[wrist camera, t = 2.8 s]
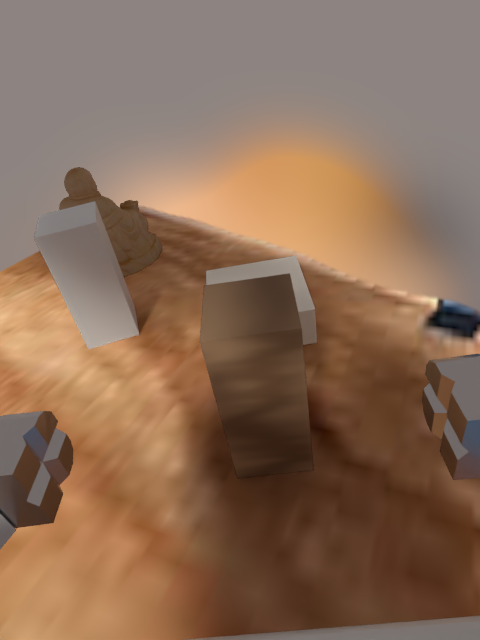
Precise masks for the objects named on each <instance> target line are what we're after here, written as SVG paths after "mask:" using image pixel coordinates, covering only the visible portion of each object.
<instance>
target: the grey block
mask: <svg viewBox="0 0 480 640" xmlns="http://www.w3.org/2000/svg"><path fill="white" fill-rule="evenodd" d="M34 240H35V242H36V244H37V246H38V248H39V250H40V252H41V254H42V256H43V258H44V260H45V262H46V264H47V266H48V268H49V270H50V272H51V274H52V276H53V278H54V280H55V282H56V284H57V286H58V288H59V290H60V293H61V295H62V297H63V299H64V301H65V303H66V305H67V307H68V309H69V311H70V313H71V315H72V317H73V319H74V321H75V323H76V325H77V327H78V329H79V331H80V333H81V335H82V337H83V339H84V341H85V343H86V345H87V347H88V349H92V348H96V347H99V346H102V345H106V344H109V343H112V342H116V341H119V340H123V339H126V338H129V337H133V336H136V335H139V329H138V323H137V317H136V310H135V306H134V303H133V301H132V298H131V295H130V293H129V290H128V287H127V285H126V282H125V279H124V277H123V274H122V271H121V269H120V266H119V263H118V261H117V258H116V255H115V253H114V250H113V247H112V245H111V242H110V239H109V237H108V234H107V231H106V229H105V226H104V223H103V221H102V218H101V215H100V213H99V210H98V207H97V205H96V202H95V201H94V202H90V203H86V204H82V205H78V206H74V207H70V208H66V209H62V210H58V211H55V212H51V213H47V214H43V215H40V216H39V218H38V223H37V227H36V231H35V235H34Z"/></svg>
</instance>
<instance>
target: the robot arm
mask: <svg viewBox="0 0 480 640" xmlns="http://www.w3.org/2000/svg"><path fill="white" fill-rule="evenodd" d="M425 374H426V376H427V378H428V380H429V384H428V385H427V386H426V387H425V388H424V389H423V398H422V402H423V410H424V415H425V418H426V421H427V424H428V426H429V428H430V431H431V433H432V434H434V435H435V436H437V437H438V438H440V439H441V440H442V442H441V447H440V453H441V455H442V457H443V459H444V461H445V463H446V466H447V468H448V470H449V472H450V474H451V476H452V478H453V480H459V479H472V478H480V354H472V355H465V356H458V357H451V358H444V359H437V360H430V361H429V362H428V364H427V367H426V373H425ZM57 423H58V420H57V419H56V418H55V416H54V415H53V413H52V412H51V411H40V412H31V413H21V414H12V415H3V416H0V549H1V548H2V547H3V546H4V544H5V543H6V542H7V541H8V539H9V538H10V537H11V536H12V535H13V533H14V532H15V531H16V529H15V528H19V527H27V526H34V525H41V524H49V523H54V520H55V517H56V514H57V511H58V508H59V505H60V502H61V499H62V496H63V492H62V490H61V487H60V484H61V483H62V482H63V481H64V480H65V479H66V478H67V477H68V476H69V475H70V471H71V468H72V465H73V447H72V444H71V440H70V439H69V437H68V436H67V434H66V433H64V432H62V431H60V430H58V429H56V426H57ZM185 640H480V616H468V617H456V618H444V619H431V620H419V621H407V622H394V623H382V624H370V625H357V626H345V627H333V628H321V629H308V630H296V631H284V632H271V633H259V634H247V635H234V636H222V637H210V638H197V639H185Z"/></svg>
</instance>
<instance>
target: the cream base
mask: <svg viewBox="0 0 480 640" xmlns="http://www.w3.org/2000/svg"><path fill="white" fill-rule="evenodd" d="M289 273H290V276H291V281H292V285H293V290H294V295H295V299H296V304H297V308H298V313H299V318H300V322H301V327H302V337H303V345H306V344H312V343H317V332H316V314H315V307H314V304H313V301H312V299H311V296H310V293H309V290H308V287H307V285H306V282H305V279H304V276H303V273H302V271H301V268H300V265H299V262H298V259H297V257H296V256H290V257H285V258H279V259H273V260H267V261H261V262H255V263H249V264H243V265H237V266H231V267H225V268H219V269H213V270H207V271H206V285H211V284H218V283H225V282H232V281H239V280H246V279H253V278H261V277H268V276H275V275H282V274H289Z"/></svg>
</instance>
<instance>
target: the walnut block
mask: <svg viewBox="0 0 480 640" xmlns="http://www.w3.org/2000/svg"><path fill="white" fill-rule="evenodd" d="M200 345H201V349H202V352H203V356H204V359H205V363H206V367H207V370H208V374H209V377H210V381H211V385H212V388H213V392H214V395H215V399H216V403H217V406H218V410H219V413H220V417H221V421H222V424H223V428H224V431H225V435H226V439H227V442H228V446H229V449H230V453H231V457H232V460H233V464H234V467H235V471H236V475H237V478H245V477H254V476H263V475H273V474H282V473H292V472H301V471H310V470H314V469H313V457H312V445H311V433H310V421H309V409H308V397H307V385H306V373H305V361H304V349H303V337H302V327H301V322H300V318H299V313H298V308H297V304H296V299H295V295H294V290H293V285H292V281H291V276H290V273H289V274H282V275H275V276H268V277H261V278H253V279H246V280H239V281H232V282H225V283H218V284H211V285H204V292H203V305H202V318H201V330H200Z"/></svg>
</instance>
